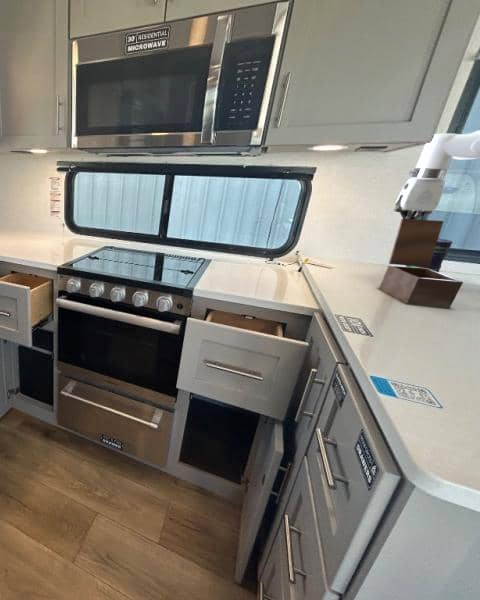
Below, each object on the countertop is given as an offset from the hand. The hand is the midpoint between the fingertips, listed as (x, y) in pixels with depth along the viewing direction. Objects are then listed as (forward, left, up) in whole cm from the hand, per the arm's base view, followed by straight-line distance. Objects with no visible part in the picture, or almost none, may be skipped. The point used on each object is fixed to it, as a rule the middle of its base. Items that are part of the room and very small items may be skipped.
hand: (404, 229), depth 117 cm
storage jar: (-13, -24, -20) cm, 34 cm away
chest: (-7, +14, -20) cm, 25 cm away
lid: (-3, +7, -3) cm, 8 cm away
